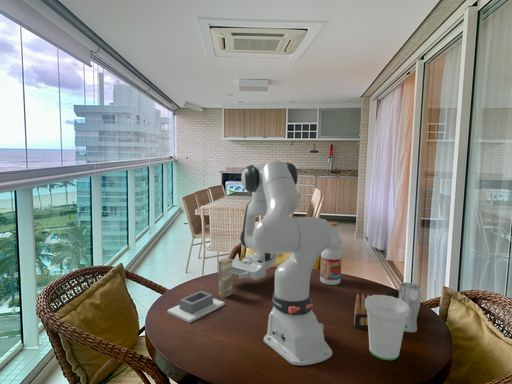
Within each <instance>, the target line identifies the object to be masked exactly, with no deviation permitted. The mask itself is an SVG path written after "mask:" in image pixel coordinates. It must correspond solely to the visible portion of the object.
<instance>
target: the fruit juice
mask: <svg viewBox="0 0 512 384" xmlns="http://www.w3.org/2000/svg"><path fill="white" fill-rule="evenodd" d="M328 223H329V224H330V226H331V228H332V231H333V238H332V242H331V244H330V245H329V247H328V248H326V249H325V250H324V251H323V252H322V253H321V254H320V273H319V280H320V282H321V283H322V284H323V285H329V286H335V285H339V284H340V283H341V279H342V261H343V260H342V259H343V258H342V257H343V252H342V245H343V240H342V237H341V236H340V234H339V231H338V226H339V222H336V221H328Z"/></svg>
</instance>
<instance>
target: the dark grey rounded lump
mask: <svg viewBox="0 0 512 384" xmlns="http://www.w3.org/2000/svg"><path fill="white" fill-rule="evenodd" d="M398 294H399V289H395V290H394V289H392V288H391V289H386V290H384V295H386V296H391V297H395V298H398Z"/></svg>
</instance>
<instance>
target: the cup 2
mask: <svg viewBox="0 0 512 384" xmlns="http://www.w3.org/2000/svg"><path fill="white" fill-rule="evenodd" d="M365 308H366V310H367V316H368V329H367V330H368V331H367V332H368V344H369V346H368V347H369V348H368V350H369V352H370V353H371V355H372V356H373V357H376V358H378V359H380V360H385V361H394V360H396V359H398V358H399V357H400V351H401V347H402V341H403V336H404V332H405V331H404V327H405V322H406V317H407V316H408V315H409V311H410V308H409V305H408V304H407V303H406V302H404V301H402V300H400V299H398V298H395V297H391V296H386V295H385V294H374V295H369V297H367V296H366V297H365Z"/></svg>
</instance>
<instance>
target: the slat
mask: <svg viewBox="0 0 512 384" xmlns="http://www.w3.org/2000/svg"><path fill="white" fill-rule="evenodd" d="M232 260H233V259H232V258H229V257H226V258H224V259H220V260H218V296H219V297H220V298H223V299H225V298H227V297H229V296H231V295H233V273H232Z"/></svg>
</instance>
